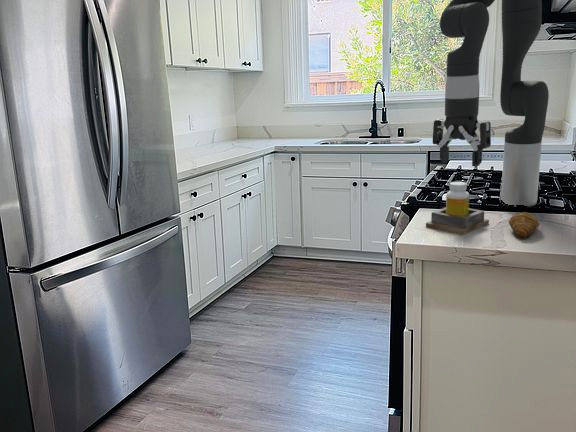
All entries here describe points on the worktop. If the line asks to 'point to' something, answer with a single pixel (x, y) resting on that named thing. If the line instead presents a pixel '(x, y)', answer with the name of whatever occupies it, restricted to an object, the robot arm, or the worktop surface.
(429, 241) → the worktop surface
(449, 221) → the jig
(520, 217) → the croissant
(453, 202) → the supplement bottle
